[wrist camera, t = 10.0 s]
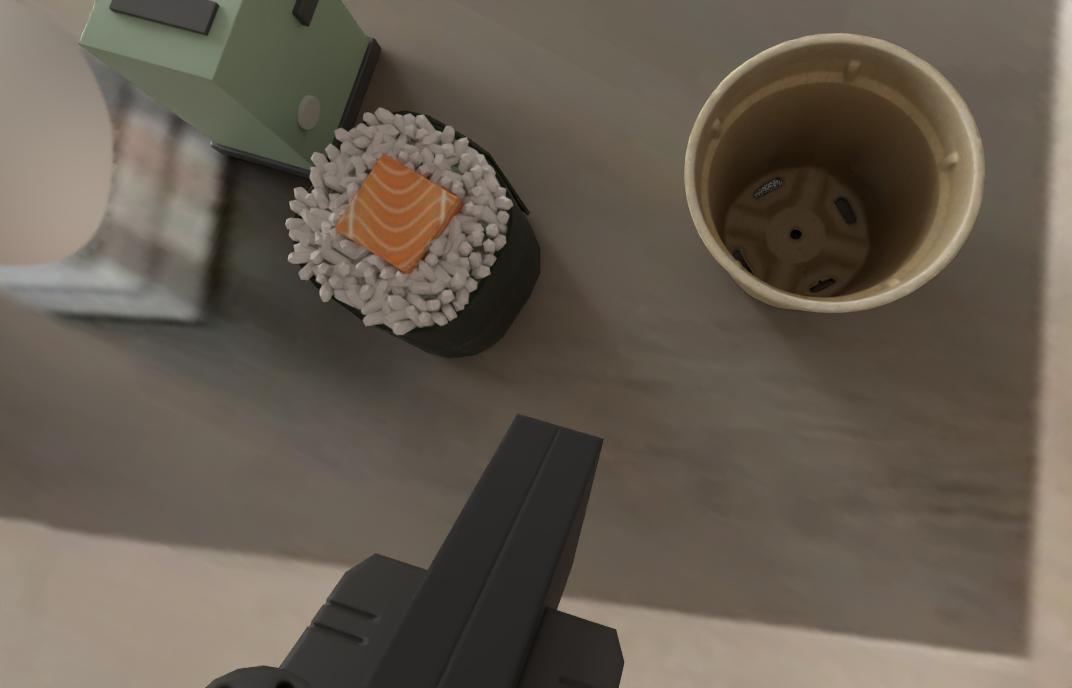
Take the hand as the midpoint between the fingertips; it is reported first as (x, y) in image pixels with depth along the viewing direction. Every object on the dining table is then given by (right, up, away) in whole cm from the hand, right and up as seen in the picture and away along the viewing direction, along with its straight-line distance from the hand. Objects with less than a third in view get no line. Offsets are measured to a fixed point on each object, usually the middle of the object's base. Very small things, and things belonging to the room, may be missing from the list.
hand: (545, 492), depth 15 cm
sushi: (-4, +6, +24) cm, 25 cm away
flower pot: (+11, +7, +22) cm, 26 cm away
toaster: (-11, +14, +26) cm, 32 cm away
